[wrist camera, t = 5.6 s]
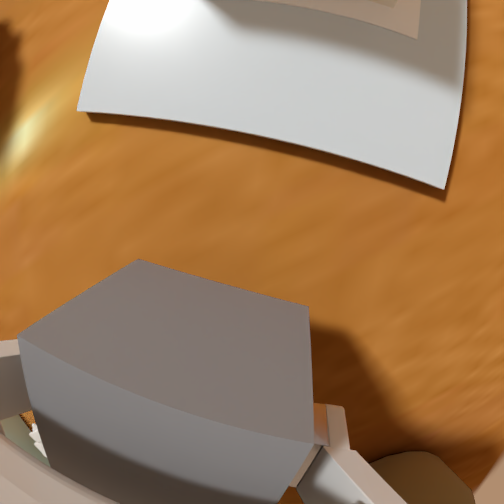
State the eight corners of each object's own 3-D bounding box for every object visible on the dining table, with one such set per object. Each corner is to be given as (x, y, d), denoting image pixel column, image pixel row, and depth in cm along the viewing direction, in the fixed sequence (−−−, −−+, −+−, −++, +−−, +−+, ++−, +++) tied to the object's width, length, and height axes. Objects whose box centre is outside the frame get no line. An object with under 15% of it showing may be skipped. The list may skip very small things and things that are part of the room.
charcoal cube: (263, 430, 10) (240, 552, 5) (128, 387, 10) (57, 483, 6) (308, 306, 9) (314, 443, 4) (138, 258, 9) (17, 335, 4)
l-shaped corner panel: (179, 492, 17) (144, 574, 10) (74, 480, 20) (37, 534, 13) (77, 357, 15) (-9, 438, 8) (-7, 374, 18) (-64, 421, 11)
